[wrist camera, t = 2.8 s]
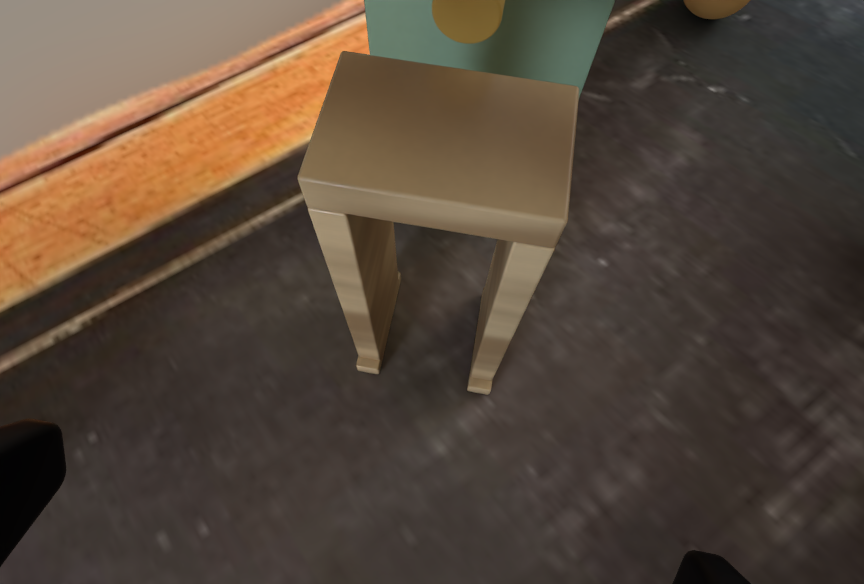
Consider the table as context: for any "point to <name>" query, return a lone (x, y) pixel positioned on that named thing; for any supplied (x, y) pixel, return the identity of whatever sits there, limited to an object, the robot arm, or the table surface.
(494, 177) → the wooden side table
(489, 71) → the green bookend
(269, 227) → the table surface
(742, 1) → the figurine
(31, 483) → the robot arm
